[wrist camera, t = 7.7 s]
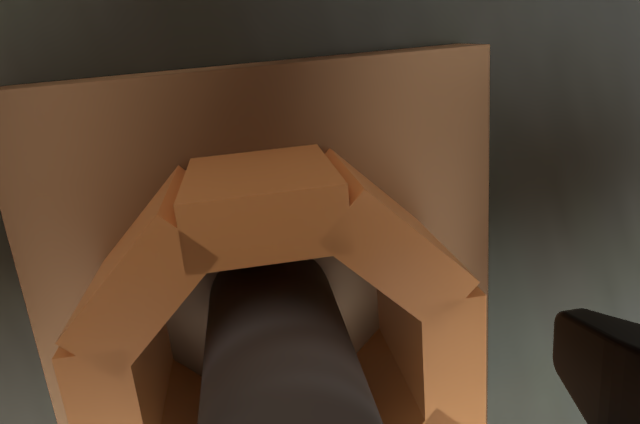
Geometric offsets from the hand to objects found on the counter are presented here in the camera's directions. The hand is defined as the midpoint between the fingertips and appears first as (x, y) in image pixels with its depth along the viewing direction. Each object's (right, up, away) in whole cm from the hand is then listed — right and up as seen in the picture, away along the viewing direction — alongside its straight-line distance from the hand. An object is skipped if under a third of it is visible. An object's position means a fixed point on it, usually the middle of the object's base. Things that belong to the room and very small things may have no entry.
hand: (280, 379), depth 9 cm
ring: (0, +1, +3) cm, 3 cm away
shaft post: (-1, +1, +4) cm, 4 cm away
